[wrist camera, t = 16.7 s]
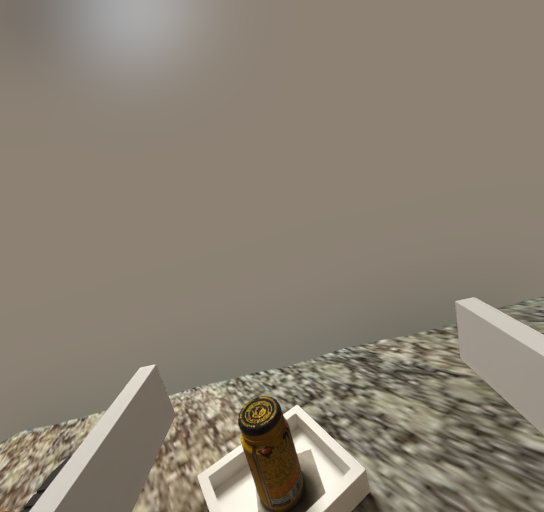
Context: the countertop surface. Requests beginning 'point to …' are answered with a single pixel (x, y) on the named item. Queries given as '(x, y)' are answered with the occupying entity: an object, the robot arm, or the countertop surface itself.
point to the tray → (306, 435)
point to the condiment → (277, 460)
